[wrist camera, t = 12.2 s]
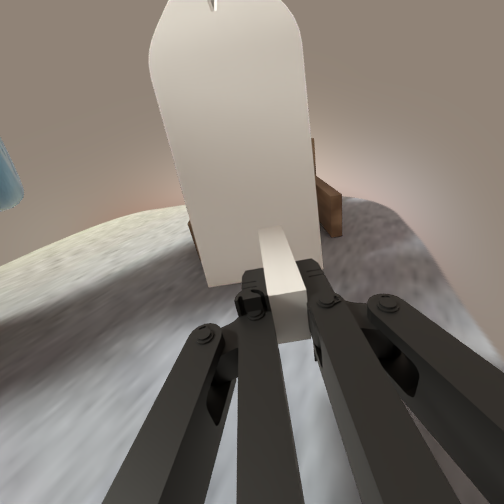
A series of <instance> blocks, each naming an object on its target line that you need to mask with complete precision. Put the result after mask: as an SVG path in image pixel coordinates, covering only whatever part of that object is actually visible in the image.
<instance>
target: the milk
mask: <svg viewBox="0 0 504 504" xmlns="http://www.w3.org/2000/svg"><path fill="white" fill-rule="evenodd" d="M149 70H150V76H151V80H152V84H153V88H154V91H155V95H156V98H157V102H158V106H159V109H160V113H161V116H162V120H163V124H164V128H165V131H166V135H167V138H168V142H169V146H170V149H171V153H172V157H173V160H174V164H175V168H176V171H177V175H178V178H179V182H180V186H181V189H182V193H183V197H184V200H185V204H186V208H187V211H188V215H189V219H190V222H191V226H192V229H193V233H194V237H195V240H196V244H197V248H198V251H199V255H200V259H201V262H202V266H203V269H204V273H205V277H206V280H207V284H208V288H209V287H215V286H222V285H228V284H234V283H241V282H242V276H243V274H244V272H245V271H246V270H252V269H258V268H263V261H262V254H261V248H260V241H259V234H258V229H264V228H269V227H274V226H280V225H281V226H282V228H283V231H284V233H285V236H286V239H287V241H288V244H289V246H290V249H291V252H292V254H293V257H294V259H295V261H299V260H304V259H310V258H312V259H313V260H315V261H316V262H318V263H319V265H320V267H321V270H322V269H323V259H322V248H321V237H320V227H319V216H318V206H317V195H316V185H315V174H314V163H313V153H312V142H311V132H310V121H309V111H308V101H307V91H306V79H305V68H304V58H303V48H302V40H301V35H300V30H299V27H298V25H297V22H296V20H295V18H294V16H293V15H292V13H291V12H290V10H289V9H288V8H287V6H286V5H285V4H284V3H283V2H282V1H281V0H168V2H167V5H166V7H165V9H164V11H163V14H162V16H161V18H160V20H159V22H158V25H157V27H156V30H155V32H154V35H153V37H152V41H151V45H150V50H149Z"/></svg>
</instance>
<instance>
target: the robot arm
mask: <svg viewBox="0 0 504 504" xmlns="http://www.w3.org/2000/svg"><path fill="white" fill-rule="evenodd" d="M23 195H24V190H23V186H22V183H21V181H20V178H19V176H18V173H17V171H16V169H15V167H14V164H13V162H12V160H11V158H10V156H9V154H8V152H7V150H6V147H5V145H4V143H3V141H2V140H1V137H0V211H4V210H7V209H10V208H13V207H14V206H16V205H17V204H18V203H20V201H21V200H22V198H23ZM258 234H259V241H260V248H261V254H262V261H263V268H258V269H252V270H246V271H245V272H244V274H243V276H242V291H241V292H240V293H239V294H238V295H237V296H236V297H235V301H234V302H235V305H236V309H237V312H238V316H239V317H238V318H237V319H236V320H235V321H234V322H232V323H230V324H229V325H226V326H224V327H222V328H220V327H219V326H218V325H216V324H212V323H209V324H203V325H201V326H199V327H197V328H196V329H195V330H193V331H192V333H191V334H190V335H189V337H188V339H187V341H186V343H185V345H184V347H183V348H182V350H181V352H180V354H179V356H178V358H177V360H176V362H175V364H174V366H173V368H172V370H171V372H170V373H169V375H168V377H167V379H166V381H165V383H164V385H163V387H162V389H161V391H160V393H159V395H158V397H157V398H156V400H155V402H154V404H153V406H152V408H151V410H150V412H149V414H148V416H147V418H146V420H145V421H144V423H143V425H142V427H141V429H140V431H139V433H138V435H137V437H136V439H135V441H134V443H133V445H132V446H131V448H130V450H129V452H128V454H127V456H126V458H125V460H124V462H123V464H122V466H121V468H120V470H119V471H118V473H117V475H116V477H115V479H114V481H113V483H112V485H111V487H110V489H109V491H108V493H107V494H106V496H105V498H104V500H103V502H102V504H204V502H205V498H206V494H207V491H208V487H209V483H210V479H211V475H212V471H213V468H214V464H215V460H216V456H217V452H218V448H219V445H220V441H221V437H222V433H223V429H224V425H225V422H226V418H227V414H228V410H229V406H230V402H231V399H232V395H233V391H234V387H235V383H236V378H237V377H238V427H237V504H305V502H304V496H303V490H302V484H301V478H300V472H299V466H298V461H297V455H296V449H295V443H294V437H293V431H292V425H291V419H290V413H289V407H288V401H287V395H286V389H285V383H284V377H283V371H282V365H281V359H280V353H279V348H278V344H281V343H287V342H294V341H300V340H306V339H311V336H312V339H313V345H314V356H315V361H318V364H319V367H320V371H321V374H322V377H323V380H324V383H325V386H326V390H327V393H328V396H329V399H330V402H331V405H332V409H333V412H334V415H335V418H336V421H337V425H338V428H339V431H340V434H341V437H342V440H343V444H344V447H345V450H346V453H347V456H348V460H349V463H350V466H351V469H352V472H353V475H354V479H355V482H356V485H357V488H358V491H359V494H360V498H361V501H362V504H461V503H460V501H459V500H458V498H457V496H456V494H455V493H454V491H453V489H452V487H451V486H450V484H449V482H448V480H447V479H446V477H445V475H444V473H443V472H442V470H441V468H440V467H439V465H438V463H437V461H436V460H435V458H434V456H433V454H432V453H431V451H430V449H429V447H428V446H427V444H426V442H425V440H424V439H423V437H422V435H421V433H420V432H419V430H418V428H417V426H416V425H415V423H414V421H413V419H412V418H411V416H410V414H409V412H408V411H407V409H406V407H405V405H404V404H403V402H402V400H403V401H404V402H405V404H406V405H407V406H408V407H409V408H410V410H411V411H412V412H413V413H414V414H415V415H416V417H417V418H418V419H419V420H420V421H421V422H422V424H423V425H424V426H425V427H426V428H427V430H428V431H429V432H430V433H431V434H432V435H433V437H434V438H435V439H436V440H437V441H438V443H439V444H440V445H441V446H442V447H443V448H444V450H445V451H446V452H447V453H448V454H449V455H450V457H451V458H452V459H453V460H454V461H455V463H456V464H457V465H458V466H459V467H460V468H461V470H462V471H463V472H464V473H465V474H466V475H467V477H468V478H469V479H470V480H471V481H472V483H473V484H474V485H475V486H476V487H477V488H478V490H479V491H480V492H481V493H482V494H483V496H484V497H485V498H486V499H487V500H488V501H489V503H490V504H504V373H503V372H502V371H500V370H499V369H497V368H496V367H495V366H493V365H492V364H491V363H489V362H488V361H486V360H485V359H484V358H482V357H481V356H480V355H478V354H477V353H475V352H474V351H473V350H471V349H470V348H469V347H467V346H466V345H464V344H463V343H462V342H460V341H459V340H458V339H456V338H455V337H453V336H452V335H451V334H449V333H448V332H447V331H445V330H444V329H442V328H441V327H440V326H438V325H437V324H436V323H434V322H433V321H431V320H430V319H429V318H427V317H426V316H425V315H423V314H422V313H420V312H419V311H418V310H416V309H415V308H414V307H412V306H411V305H409V304H408V303H407V302H405V301H404V300H402V299H401V298H399V297H397V296H394V295H390V294H377V295H374V296H372V297H370V298H369V300H368V302H367V303H354V302H348V301H345V300H344V299H343V298H342V297H341V296H340V295H338V294H337V293H335V292H334V291H333V289H332V287H331V285H330V284H329V282H328V280H327V278H326V276H325V275H324V273H323V271H322V270H321V267H320V265H319V263H318V262H316V261H315V260H313V259H312V258H310V259H304V260H299V261H295V259H294V257H293V254H292V252H291V249H290V246H289V244H288V241H287V239H286V236H285V233H284V231H283V228H282V226H281V225H280V226H274V227H269V228H264V229H258ZM310 333H311V334H310ZM401 399H402V400H401Z"/></svg>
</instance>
